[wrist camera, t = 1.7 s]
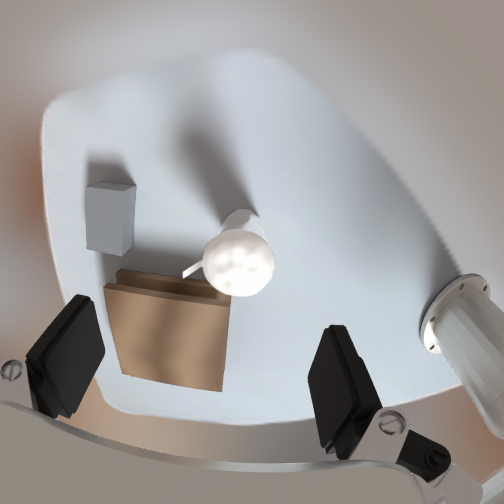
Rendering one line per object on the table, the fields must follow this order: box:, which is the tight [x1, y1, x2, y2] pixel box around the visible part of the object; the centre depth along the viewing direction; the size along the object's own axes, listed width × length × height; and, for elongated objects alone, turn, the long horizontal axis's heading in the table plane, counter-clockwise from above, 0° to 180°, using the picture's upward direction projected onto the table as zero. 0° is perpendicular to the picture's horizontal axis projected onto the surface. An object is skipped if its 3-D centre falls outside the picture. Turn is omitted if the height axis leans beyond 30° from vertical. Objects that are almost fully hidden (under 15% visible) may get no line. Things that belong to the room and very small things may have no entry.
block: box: [86, 181, 137, 256], centre depth 23 cm, size 4×6×3 cm, turn 169°
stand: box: [103, 269, 231, 392], centre depth 27 cm, size 12×12×4 cm
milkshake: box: [182, 209, 274, 297], centre depth 20 cm, size 4×5×10 cm
